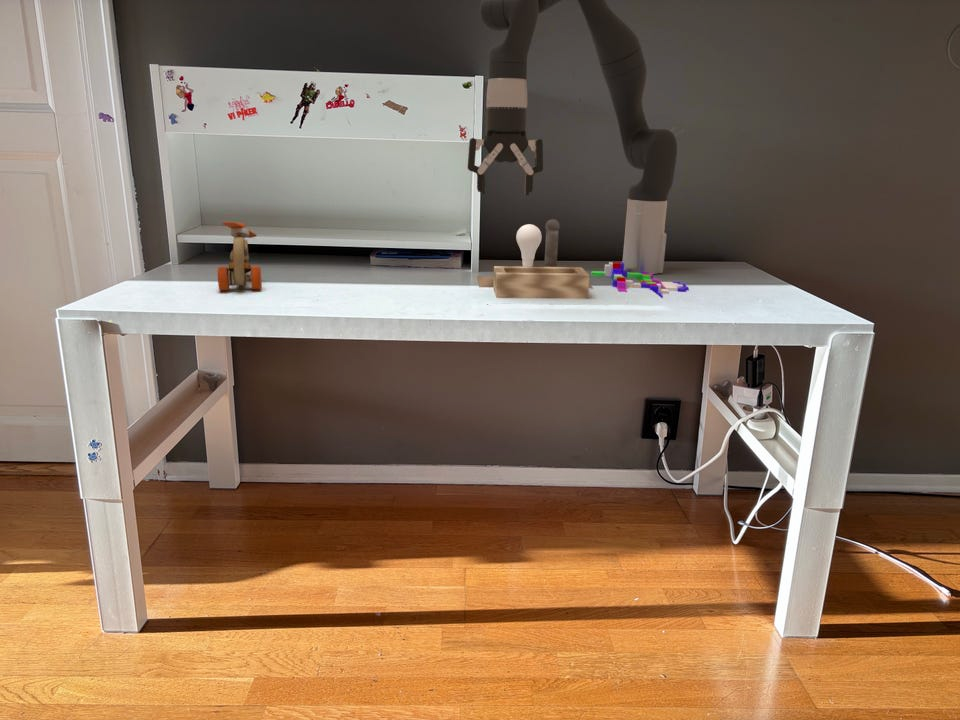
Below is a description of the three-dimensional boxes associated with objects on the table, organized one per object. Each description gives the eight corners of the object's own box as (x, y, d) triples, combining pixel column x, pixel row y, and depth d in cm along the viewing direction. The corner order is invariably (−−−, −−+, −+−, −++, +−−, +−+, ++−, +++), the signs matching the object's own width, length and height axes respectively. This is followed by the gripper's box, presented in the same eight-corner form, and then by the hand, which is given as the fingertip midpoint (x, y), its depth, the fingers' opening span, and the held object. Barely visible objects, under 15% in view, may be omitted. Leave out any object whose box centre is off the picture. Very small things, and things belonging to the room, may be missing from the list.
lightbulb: (532, 273, 167) (534, 226, 164) (510, 270, 170) (512, 224, 167) (544, 269, 172) (546, 224, 168) (522, 266, 175) (524, 222, 172)
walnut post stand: (583, 282, 158) (587, 217, 153) (593, 293, 147) (598, 223, 143) (476, 281, 156) (478, 215, 152) (479, 291, 146) (480, 221, 142)
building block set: (696, 302, 144) (699, 280, 142) (595, 298, 145) (597, 276, 144) (675, 278, 167) (677, 260, 166) (588, 275, 169) (590, 256, 168)
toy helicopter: (218, 294, 138) (211, 224, 134) (225, 274, 157) (219, 212, 153) (261, 293, 140) (256, 223, 136) (263, 273, 159) (258, 212, 155)
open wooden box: (579, 291, 146) (581, 267, 144) (587, 300, 138) (589, 275, 136) (493, 290, 145) (494, 266, 143) (496, 299, 137) (496, 274, 135)
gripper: (541, 107, 134) (538, 193, 139) (467, 105, 134) (466, 193, 139) (547, 105, 127) (543, 197, 132) (469, 104, 127) (468, 196, 132)
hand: (504, 194), depth 135 cm, fingers open, 8 cm apart
